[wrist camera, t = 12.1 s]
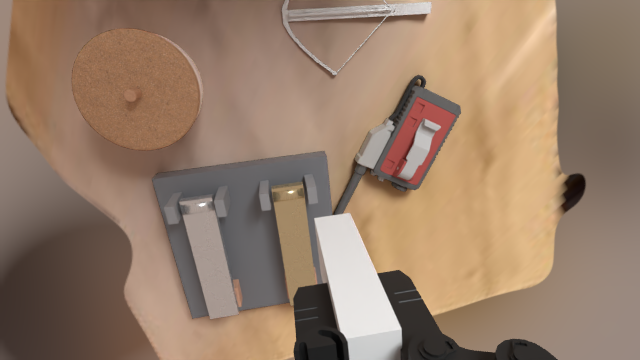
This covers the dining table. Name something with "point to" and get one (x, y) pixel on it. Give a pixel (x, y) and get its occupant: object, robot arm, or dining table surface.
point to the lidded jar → (137, 88)
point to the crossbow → (349, 13)
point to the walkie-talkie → (405, 141)
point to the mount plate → (244, 222)
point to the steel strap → (210, 255)
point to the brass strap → (294, 236)
